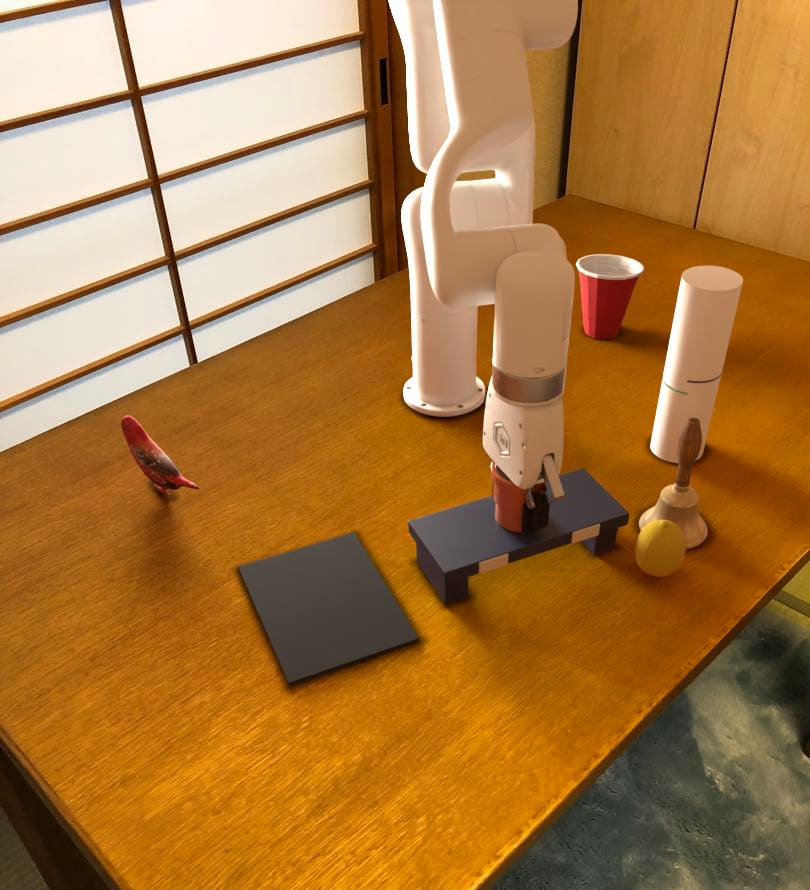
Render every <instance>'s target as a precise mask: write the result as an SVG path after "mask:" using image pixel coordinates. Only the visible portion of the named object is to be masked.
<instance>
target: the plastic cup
mask: <svg viewBox="0 0 810 890" xmlns="http://www.w3.org/2000/svg"><path fill="white" fill-rule="evenodd" d="M575 265H576V267H577V269H578V275H579V283H580V299H581V313H582V322H583V328H584V330H583V331H584V332H585V334H586V335H587V336H589V337H591V338H593V339H597V340H598V339H599V340H609V339H612V338H615V337H616V336H618V334H619V332H620V330H621V327H622V324H623V321H624V318H625V316H626V313H627V310H628V307H629V304H630V301H631V297H632V295H633V292H634V289H635V287H636V284H637V282H638V280H639V278H640V276H641V275H642V274H643V272H644V270H645V266H644V265H643V263H642V262H640V261H638V260H636V259H634V258H631V257H628V256H624V255H617V254H609V253H608V254H607V253H598V254H597V253H596V254H590V255H584V256H582V257H581V258H578V260H577V261H576V263H575Z"/></svg>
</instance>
